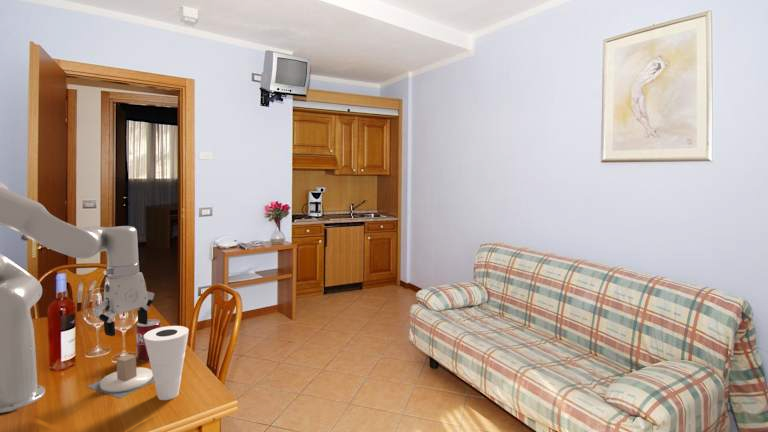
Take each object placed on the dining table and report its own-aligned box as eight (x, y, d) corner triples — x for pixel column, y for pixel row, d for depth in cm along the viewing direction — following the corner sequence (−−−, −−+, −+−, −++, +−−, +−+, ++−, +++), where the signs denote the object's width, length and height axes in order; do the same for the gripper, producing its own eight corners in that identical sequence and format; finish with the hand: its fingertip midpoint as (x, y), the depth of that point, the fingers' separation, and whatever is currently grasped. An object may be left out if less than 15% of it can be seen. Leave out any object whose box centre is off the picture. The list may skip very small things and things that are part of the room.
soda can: (151, 364, 133) (150, 327, 132) (131, 361, 135) (130, 325, 134) (167, 354, 140) (166, 319, 139) (148, 352, 142) (147, 317, 141)
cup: (183, 383, 122) (182, 323, 120) (195, 398, 114) (193, 334, 112) (142, 395, 115) (139, 331, 113) (151, 412, 107) (148, 344, 105)
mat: (119, 400, 112) (119, 398, 112) (86, 388, 118) (86, 386, 118) (165, 377, 125) (165, 375, 125) (133, 368, 130) (133, 366, 130)
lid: (120, 396, 113) (119, 371, 112) (89, 386, 118) (88, 362, 117) (163, 376, 125) (162, 353, 124) (133, 367, 130) (132, 345, 129)
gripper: (101, 278, 109) (105, 342, 110) (160, 265, 124) (163, 321, 126) (82, 275, 112) (87, 338, 113) (142, 263, 127) (145, 317, 129)
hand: (127, 329), depth 120 cm, fingers open, 9 cm apart
